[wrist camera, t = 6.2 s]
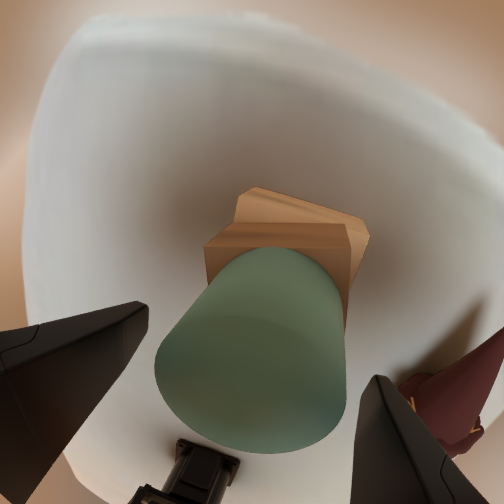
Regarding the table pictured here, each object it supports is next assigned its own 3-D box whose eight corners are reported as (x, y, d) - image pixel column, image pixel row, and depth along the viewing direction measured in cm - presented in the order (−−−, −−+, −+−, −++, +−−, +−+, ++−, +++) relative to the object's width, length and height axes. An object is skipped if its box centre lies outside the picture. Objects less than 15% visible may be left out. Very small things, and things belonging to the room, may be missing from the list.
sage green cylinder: (316, 375, 12) (306, 467, 7) (202, 340, 12) (153, 418, 8) (361, 270, 10) (381, 351, 6) (223, 229, 10) (159, 284, 6)
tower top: (339, 324, 15) (340, 370, 11) (239, 319, 16) (218, 361, 12) (345, 223, 13) (351, 249, 10) (231, 222, 14) (203, 246, 11)
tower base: (327, 311, 18) (325, 345, 15) (232, 281, 19) (213, 309, 16) (361, 218, 16) (370, 236, 13) (255, 186, 17) (238, 196, 14)
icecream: (468, 339, 10) (329, 484, 17) (564, 387, 8) (409, 512, 14) (454, 276, 16) (355, 420, 23) (534, 319, 13) (422, 448, 20)
